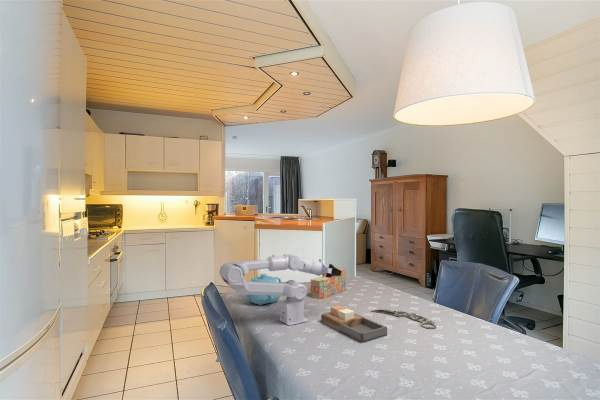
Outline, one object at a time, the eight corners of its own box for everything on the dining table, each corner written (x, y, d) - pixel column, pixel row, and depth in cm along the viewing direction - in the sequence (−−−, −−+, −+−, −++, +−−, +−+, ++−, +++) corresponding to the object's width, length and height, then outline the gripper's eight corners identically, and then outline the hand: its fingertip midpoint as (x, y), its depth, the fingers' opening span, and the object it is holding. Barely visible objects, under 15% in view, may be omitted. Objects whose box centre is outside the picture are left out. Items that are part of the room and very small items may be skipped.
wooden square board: (339, 331, 123) (339, 323, 123) (321, 321, 133) (321, 314, 133) (364, 325, 129) (364, 317, 129) (344, 316, 139) (344, 309, 139)
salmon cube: (337, 316, 130) (337, 310, 130) (330, 313, 134) (330, 307, 134) (346, 314, 132) (346, 308, 132) (339, 311, 136) (339, 305, 136)
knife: (370, 309, 145) (384, 304, 151) (370, 313, 145) (385, 307, 151) (429, 329, 122) (444, 321, 128) (430, 333, 122) (444, 325, 128)
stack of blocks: (319, 299, 164) (319, 275, 165) (310, 297, 169) (310, 273, 169) (345, 291, 180) (345, 268, 180) (336, 289, 184) (336, 267, 184)
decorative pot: (257, 296, 172) (256, 270, 172) (285, 298, 166) (284, 271, 166) (240, 305, 157) (240, 276, 157) (271, 308, 151) (270, 278, 151)
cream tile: (345, 320, 126) (345, 313, 126) (338, 317, 130) (338, 310, 130) (354, 318, 128) (354, 311, 128) (347, 315, 132) (347, 308, 132)
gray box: (361, 343, 112) (361, 334, 112) (340, 331, 123) (339, 323, 123) (387, 335, 118) (387, 327, 118) (364, 325, 129) (364, 317, 129)
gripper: (321, 258, 133) (347, 264, 139) (303, 255, 146) (328, 261, 152) (317, 275, 132) (344, 281, 138) (299, 271, 144) (325, 276, 150)
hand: (335, 272), depth 145 cm, fingers open, 7 cm apart
